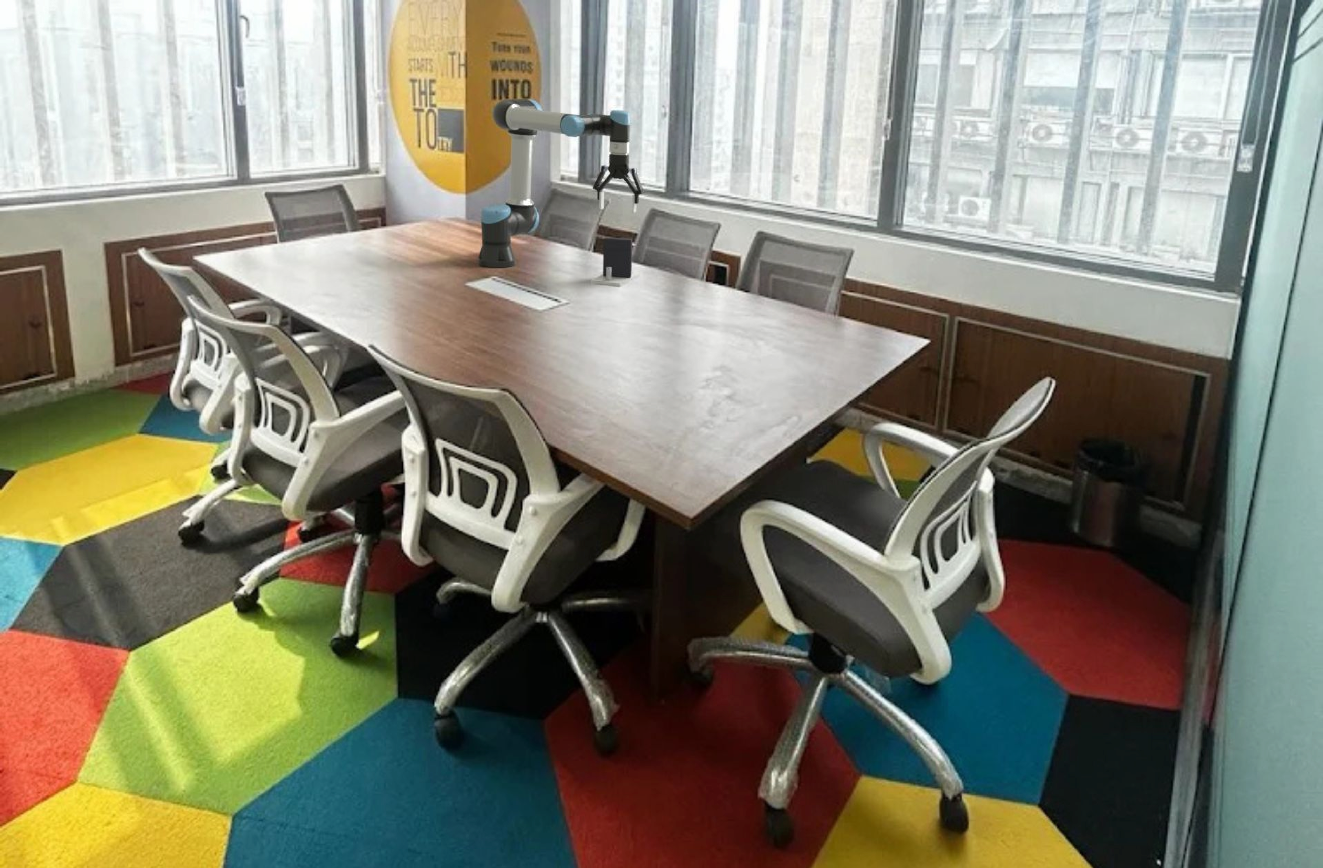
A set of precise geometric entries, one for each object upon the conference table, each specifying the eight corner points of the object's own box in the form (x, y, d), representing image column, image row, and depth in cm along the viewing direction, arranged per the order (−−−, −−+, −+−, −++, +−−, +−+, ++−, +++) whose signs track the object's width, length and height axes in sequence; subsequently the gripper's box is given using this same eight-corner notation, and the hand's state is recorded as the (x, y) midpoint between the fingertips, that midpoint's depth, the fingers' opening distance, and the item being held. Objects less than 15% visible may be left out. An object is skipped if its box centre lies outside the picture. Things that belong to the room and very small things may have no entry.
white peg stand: (591, 283, 372) (591, 267, 369) (613, 272, 391) (613, 257, 389) (619, 286, 368) (620, 270, 366) (640, 275, 387) (641, 260, 385)
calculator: (631, 276, 380) (632, 238, 375) (630, 278, 376) (631, 240, 371) (604, 274, 381) (605, 236, 376) (602, 276, 377) (603, 238, 372)
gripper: (584, 151, 363) (584, 208, 371) (646, 157, 355) (644, 215, 363) (593, 150, 369) (592, 206, 377) (653, 155, 362) (651, 212, 369)
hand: (617, 210), depth 370 cm, fingers open, 13 cm apart
